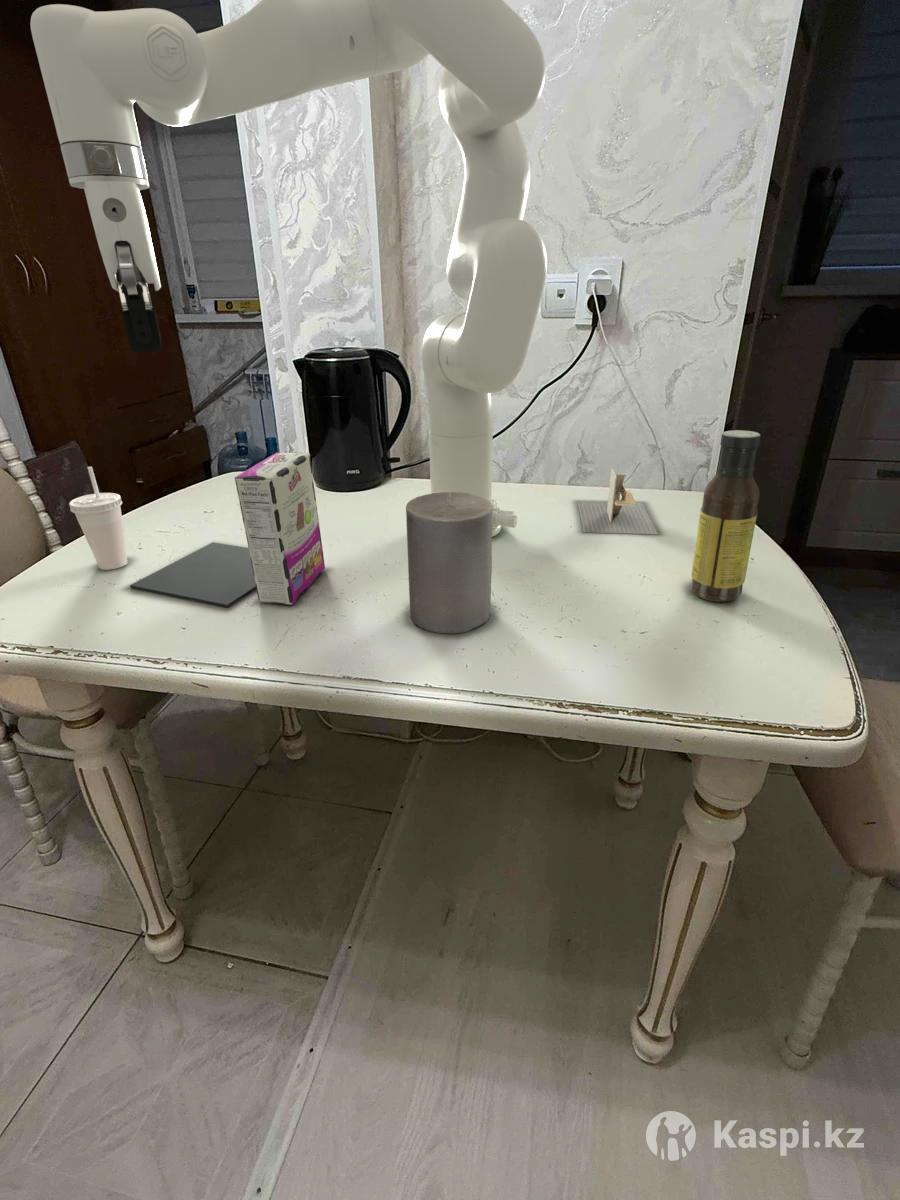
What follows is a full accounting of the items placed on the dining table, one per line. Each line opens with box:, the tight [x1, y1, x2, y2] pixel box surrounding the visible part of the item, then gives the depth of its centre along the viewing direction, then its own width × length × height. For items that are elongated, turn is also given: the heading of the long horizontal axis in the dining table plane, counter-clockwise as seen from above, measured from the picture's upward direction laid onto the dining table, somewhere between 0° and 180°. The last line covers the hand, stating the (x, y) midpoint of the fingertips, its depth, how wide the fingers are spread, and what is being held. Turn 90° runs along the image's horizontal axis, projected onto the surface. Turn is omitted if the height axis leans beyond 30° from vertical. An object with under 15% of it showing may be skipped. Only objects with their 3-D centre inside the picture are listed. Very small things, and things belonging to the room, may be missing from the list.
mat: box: [129, 542, 257, 608], centre depth 86 cm, size 16×16×1 cm
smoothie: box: [68, 466, 128, 571], centre depth 86 cm, size 6×6×14 cm
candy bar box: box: [234, 451, 326, 606], centre depth 78 cm, size 11×5×16 cm, turn 168°
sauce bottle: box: [690, 429, 761, 602], centre depth 74 cm, size 6×6×20 cm
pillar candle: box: [405, 492, 494, 634], centre depth 71 cm, size 10×10×15 cm
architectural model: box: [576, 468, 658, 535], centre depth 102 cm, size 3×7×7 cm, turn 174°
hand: (147, 347), depth 72 cm, fingers open, 9 cm apart
